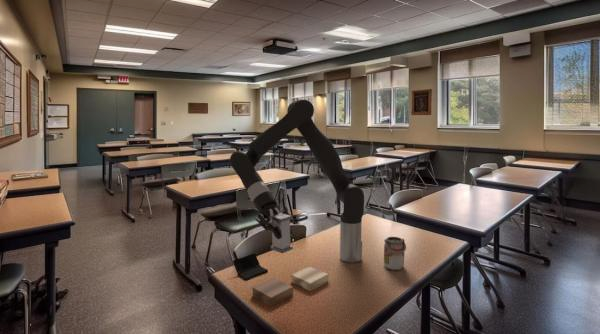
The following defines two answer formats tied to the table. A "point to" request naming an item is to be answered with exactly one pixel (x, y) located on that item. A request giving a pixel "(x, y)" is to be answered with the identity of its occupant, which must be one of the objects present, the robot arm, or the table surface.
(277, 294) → the stand
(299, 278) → the stand
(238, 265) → the handheld gaming console
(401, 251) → the beverage can
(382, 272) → the table surface
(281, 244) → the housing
